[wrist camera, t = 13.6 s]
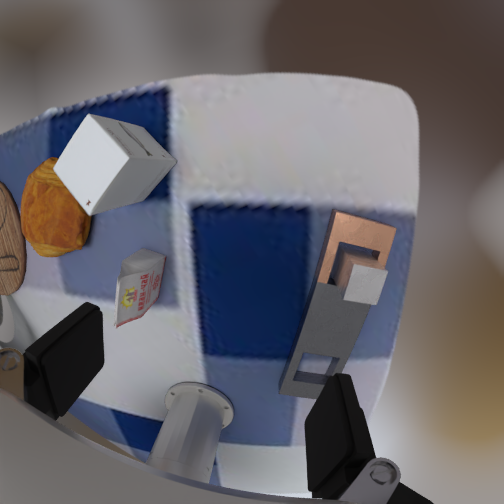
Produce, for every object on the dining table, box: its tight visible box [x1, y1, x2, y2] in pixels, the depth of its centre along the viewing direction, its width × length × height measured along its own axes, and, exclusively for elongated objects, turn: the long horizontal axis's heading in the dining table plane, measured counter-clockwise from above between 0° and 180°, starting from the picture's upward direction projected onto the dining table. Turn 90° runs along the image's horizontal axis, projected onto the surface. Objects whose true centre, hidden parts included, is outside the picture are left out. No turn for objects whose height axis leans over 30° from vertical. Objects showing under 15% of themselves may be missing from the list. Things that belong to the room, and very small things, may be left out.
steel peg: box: [331, 244, 388, 305], centre depth 32 cm, size 4×4×8 cm
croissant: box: [20, 157, 91, 257], centre depth 34 cm, size 14×16×8 cm
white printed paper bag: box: [114, 248, 166, 328], centre depth 34 cm, size 4×7×10 cm, turn 163°
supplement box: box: [53, 114, 177, 216], centre depth 28 cm, size 7×7×13 cm
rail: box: [279, 209, 396, 399], centre depth 37 cm, size 28×8×2 cm, turn 168°
